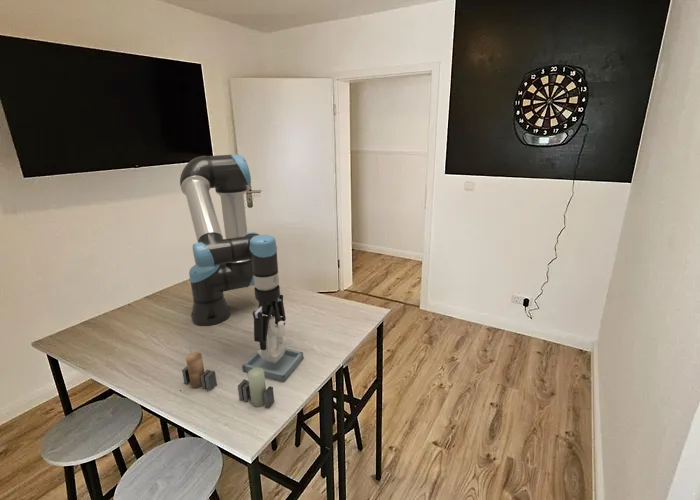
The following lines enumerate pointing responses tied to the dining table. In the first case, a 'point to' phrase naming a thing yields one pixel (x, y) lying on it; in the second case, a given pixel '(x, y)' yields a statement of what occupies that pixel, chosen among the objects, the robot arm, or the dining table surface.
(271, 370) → the tray
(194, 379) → the brown rounded cylinder
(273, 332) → the figurine
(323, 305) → the dining table surface
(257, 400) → the green dowel
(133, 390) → the dining table surface
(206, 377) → the clip posts
